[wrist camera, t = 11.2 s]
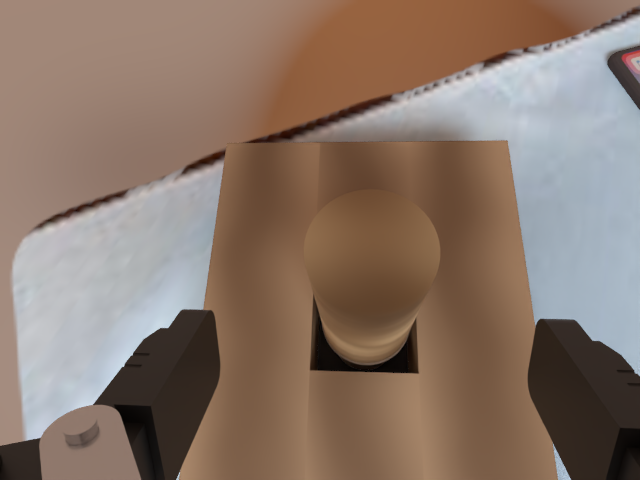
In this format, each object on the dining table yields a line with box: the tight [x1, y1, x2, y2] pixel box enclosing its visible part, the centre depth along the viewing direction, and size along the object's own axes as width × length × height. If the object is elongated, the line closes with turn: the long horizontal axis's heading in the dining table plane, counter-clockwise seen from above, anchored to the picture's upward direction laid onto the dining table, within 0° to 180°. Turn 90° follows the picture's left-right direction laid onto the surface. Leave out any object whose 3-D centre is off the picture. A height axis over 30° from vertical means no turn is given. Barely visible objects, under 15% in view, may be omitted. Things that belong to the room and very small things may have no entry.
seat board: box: [179, 141, 558, 480], centre depth 21 cm, size 14×22×4 cm, turn 178°
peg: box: [304, 189, 440, 371], centre depth 18 cm, size 4×4×12 cm
